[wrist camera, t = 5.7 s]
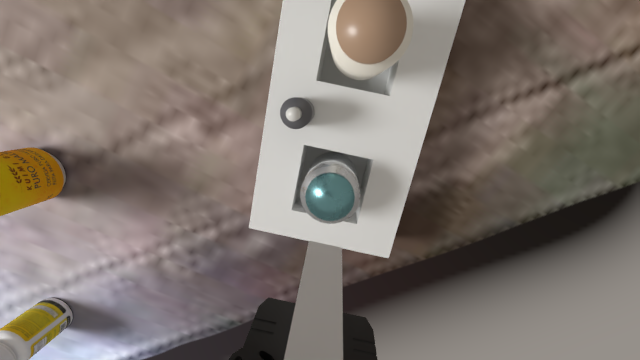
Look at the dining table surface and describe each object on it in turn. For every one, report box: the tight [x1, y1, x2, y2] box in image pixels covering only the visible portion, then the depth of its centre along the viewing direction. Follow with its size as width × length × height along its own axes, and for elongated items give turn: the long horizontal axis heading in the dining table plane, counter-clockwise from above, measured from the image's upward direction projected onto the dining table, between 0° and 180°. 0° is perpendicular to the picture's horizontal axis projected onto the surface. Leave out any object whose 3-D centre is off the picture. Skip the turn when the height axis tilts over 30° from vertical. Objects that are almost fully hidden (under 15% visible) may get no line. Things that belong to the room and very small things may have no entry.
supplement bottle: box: [0, 298, 73, 360], centre depth 36 cm, size 5×5×8 cm
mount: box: [249, 0, 466, 258], centre depth 28 cm, size 24×14×5 cm, turn 168°
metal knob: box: [300, 152, 360, 224], centre depth 28 cm, size 5×5×8 cm
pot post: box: [280, 97, 315, 129], centre depth 24 cm, size 2×2×5 cm
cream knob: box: [328, 0, 413, 80], centre depth 21 cm, size 5×5×8 cm
